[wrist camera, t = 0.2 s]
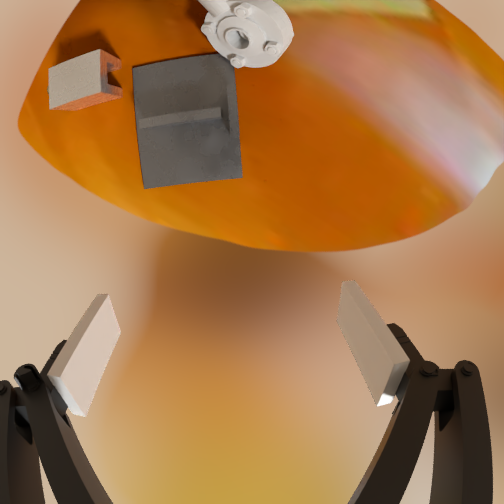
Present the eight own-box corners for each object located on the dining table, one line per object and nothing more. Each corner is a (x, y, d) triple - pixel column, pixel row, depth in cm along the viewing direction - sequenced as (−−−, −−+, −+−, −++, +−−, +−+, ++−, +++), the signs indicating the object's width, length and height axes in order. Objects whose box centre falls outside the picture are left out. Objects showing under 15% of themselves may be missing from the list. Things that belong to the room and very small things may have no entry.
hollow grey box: (72, 75, 31) (46, 69, 24) (120, 60, 31) (100, 48, 24) (73, 111, 34) (46, 110, 27) (122, 97, 34) (101, 91, 27)
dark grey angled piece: (134, 68, 32) (114, 57, 25) (233, 53, 33) (233, 37, 26) (145, 188, 39) (128, 200, 32) (242, 177, 40) (244, 187, 33)
